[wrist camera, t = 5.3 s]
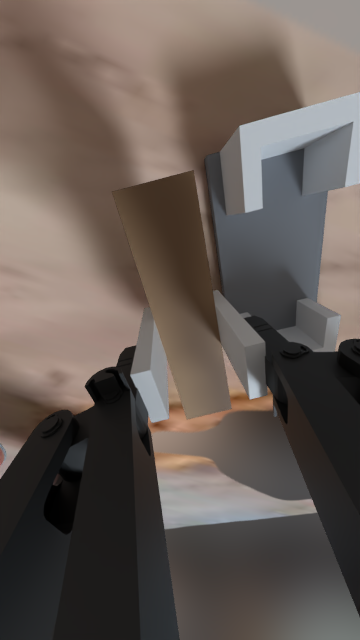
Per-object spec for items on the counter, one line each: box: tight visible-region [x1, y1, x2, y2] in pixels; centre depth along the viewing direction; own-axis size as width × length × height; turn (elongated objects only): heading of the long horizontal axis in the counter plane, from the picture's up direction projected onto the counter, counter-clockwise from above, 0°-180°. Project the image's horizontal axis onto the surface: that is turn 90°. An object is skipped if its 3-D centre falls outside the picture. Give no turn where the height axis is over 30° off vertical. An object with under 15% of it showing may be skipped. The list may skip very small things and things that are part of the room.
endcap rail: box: [204, 92, 360, 352], centre depth 18 cm, size 10×19×6 cm, turn 13°
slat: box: [112, 170, 232, 419], centre depth 14 cm, size 4×15×5 cm, turn 13°
